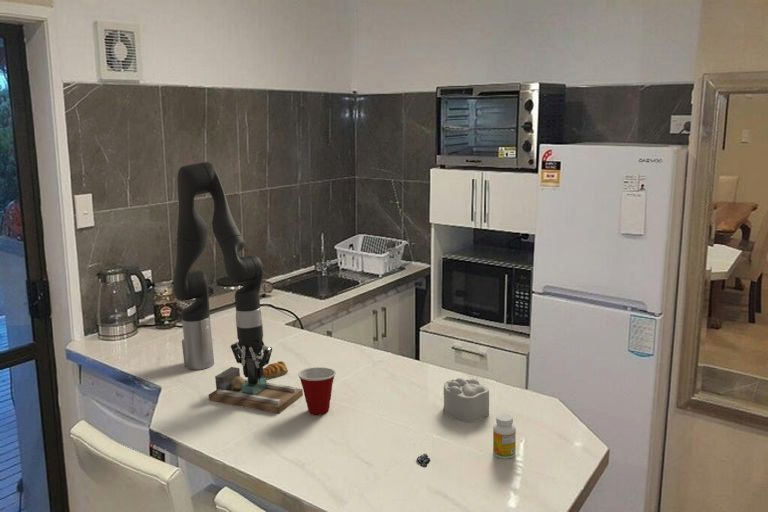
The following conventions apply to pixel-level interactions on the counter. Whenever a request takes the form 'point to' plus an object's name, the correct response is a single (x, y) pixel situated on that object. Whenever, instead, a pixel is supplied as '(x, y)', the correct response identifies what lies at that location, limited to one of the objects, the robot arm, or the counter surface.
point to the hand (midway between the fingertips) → (253, 377)
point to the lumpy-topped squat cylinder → (466, 400)
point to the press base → (266, 400)
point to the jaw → (253, 379)
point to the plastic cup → (317, 388)
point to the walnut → (238, 382)
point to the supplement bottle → (504, 437)
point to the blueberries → (423, 460)
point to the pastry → (275, 370)
